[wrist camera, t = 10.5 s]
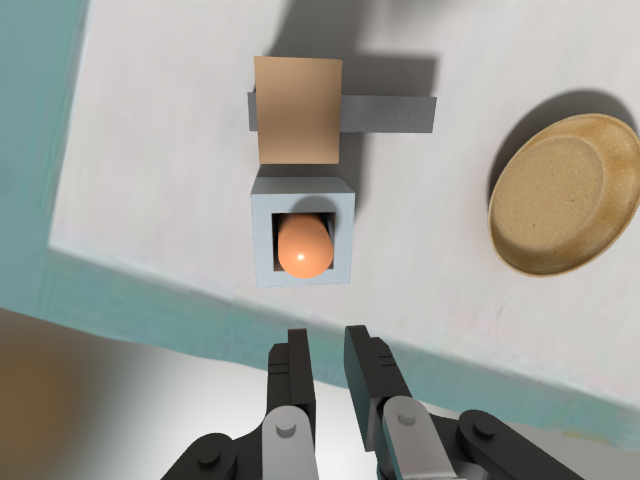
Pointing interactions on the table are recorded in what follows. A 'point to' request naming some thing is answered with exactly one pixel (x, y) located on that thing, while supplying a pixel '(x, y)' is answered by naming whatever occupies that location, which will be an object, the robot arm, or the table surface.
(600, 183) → the plant saucer
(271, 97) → the carriage
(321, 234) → the button
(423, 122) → the handrail
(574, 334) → the table surface
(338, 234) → the grey hollow block
